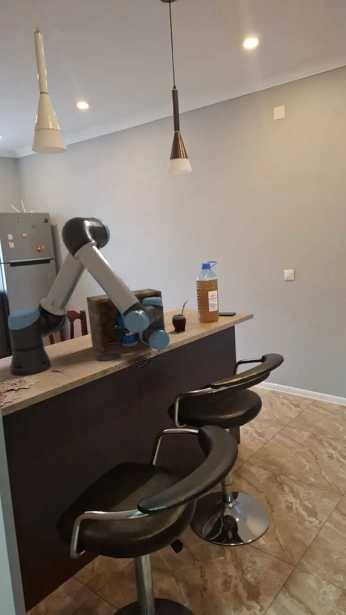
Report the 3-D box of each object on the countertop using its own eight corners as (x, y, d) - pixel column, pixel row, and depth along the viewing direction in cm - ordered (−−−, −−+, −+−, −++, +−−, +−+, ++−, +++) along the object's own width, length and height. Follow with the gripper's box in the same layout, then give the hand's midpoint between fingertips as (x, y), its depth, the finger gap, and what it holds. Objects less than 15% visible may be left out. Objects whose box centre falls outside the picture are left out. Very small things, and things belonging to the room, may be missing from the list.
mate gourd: (170, 332, 206) (167, 302, 204) (178, 328, 213) (175, 300, 211) (183, 332, 203) (180, 302, 200) (190, 329, 209) (188, 299, 207)
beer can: (120, 343, 192) (116, 309, 190) (138, 341, 193) (134, 307, 191) (120, 347, 184) (116, 312, 182) (138, 345, 185) (135, 310, 182)
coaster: (99, 362, 163) (99, 361, 163) (93, 357, 172) (93, 355, 172) (123, 357, 167) (123, 356, 167) (116, 352, 176) (116, 351, 176)
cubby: (100, 353, 176) (94, 300, 173) (92, 346, 190) (86, 297, 186) (165, 341, 188) (161, 291, 185) (153, 335, 202) (148, 288, 198)
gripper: (118, 348, 162) (104, 338, 181) (176, 337, 171) (157, 329, 191) (116, 330, 160) (102, 322, 180) (174, 320, 170) (155, 313, 189)
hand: (130, 325), depth 185 cm, fingers open, 13 cm apart
